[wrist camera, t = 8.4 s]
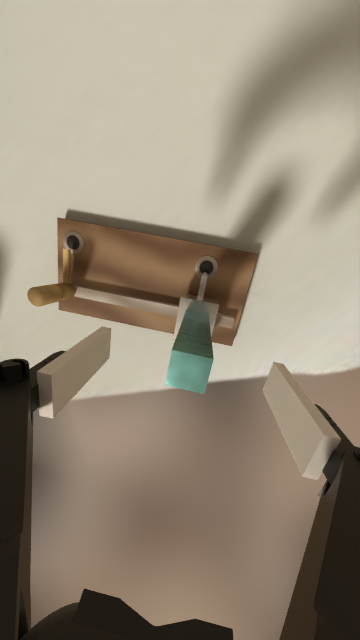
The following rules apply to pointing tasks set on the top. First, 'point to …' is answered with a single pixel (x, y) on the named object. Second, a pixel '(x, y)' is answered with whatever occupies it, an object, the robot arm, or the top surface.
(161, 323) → the hole plate
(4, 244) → the top surface
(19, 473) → the robot arm
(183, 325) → the sliding lever
